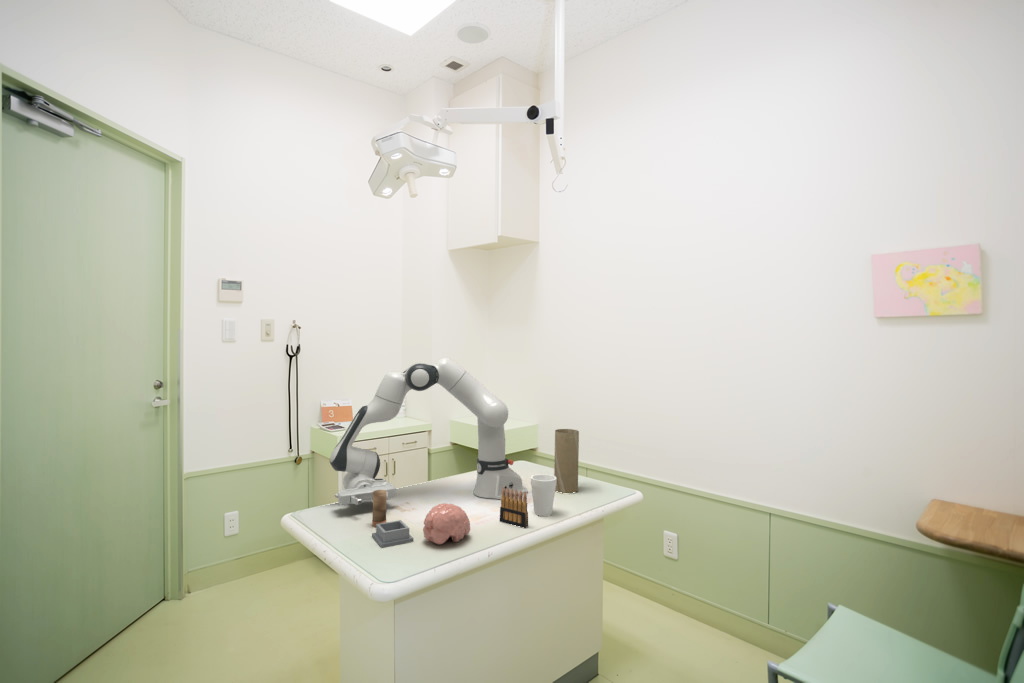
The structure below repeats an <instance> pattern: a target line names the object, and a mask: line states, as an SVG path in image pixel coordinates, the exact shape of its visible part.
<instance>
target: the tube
mask: <svg viewBox="0 0 1024 683" xmlns="http://www.w3.org/2000/svg"><path fill="white" fill-rule="evenodd" d="M579 440H580V431H579V430H578V429H571V428H559V429H558V428H557V429H555V430H554V463H553V464H554V465H553V466H554V468H553V469H554V470H553V471H554V472H553V476H555V477H556V488H555V492H556V491H558V492H562V493H561V494H563V493H573V492H576V491H579V450H580V449H579V448H580V446H579V445H580V442H579ZM558 492H557V493H558ZM576 493H577V492H576ZM573 494H574V493H573Z"/></svg>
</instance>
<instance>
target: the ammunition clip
mask: <svg viewBox="0 0 1024 683" xmlns="http://www.w3.org/2000/svg"><path fill="white" fill-rule="evenodd" d="M527 499H528V498H527V493H526V492H524V494H522V492H521V490H520V493H519V495H518V492H517V489H516V490H515V495H514V493H513V489H511V493H510V496H509V488H507V491H506V497H505V488H504V487H503V489H502V498H501V499H500V506H499V522H500V523H504V524H507V525H511V524H512V525H511V526H514V525H516V526H515V527H518V526H520V528H522V527H524V528H523V529H526V527H527V528H528V527H529V512H528V500H527Z"/></svg>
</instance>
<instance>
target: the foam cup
mask: <svg viewBox="0 0 1024 683" xmlns="http://www.w3.org/2000/svg"><path fill="white" fill-rule="evenodd" d="M530 486H531V497H532V504H533V511H534V512H533V513H535V514H534V515H535V516H538V515H539V516H538V517H549V516H548V515H550V516H551V515H552V513H553V508H554V500H555V493H556V491H555V488H556V477H555V476H554V475H552V474H545V473H542V474H541V473H540V474H539V473H538V474H537V473H536V474H533V475H531V476H530Z"/></svg>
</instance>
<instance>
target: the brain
mask: <svg viewBox="0 0 1024 683" xmlns="http://www.w3.org/2000/svg"><path fill="white" fill-rule="evenodd" d="M423 525H424V527H423V528H422V531H423V532H422V533H423V538H425V539H426V540H427V541H428V542H432V543H434V544H435V545H443V544H444V543H445V542H447V541H448V540H449V538H451V540H452V542H454V543H457V542H460V540H462V539H463V538H464V536H467V535H469V533H470V532H471V522H470V519H469V517H468V515H467V513H466V511H465V510H464V509H462V507H460V506H458V505H455V504H453V503H438V504H437V505H435V506H433V507H432V508H431V509H430V510H429V511H428V513H427V514H426V516H425V518H424V521H423Z"/></svg>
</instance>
